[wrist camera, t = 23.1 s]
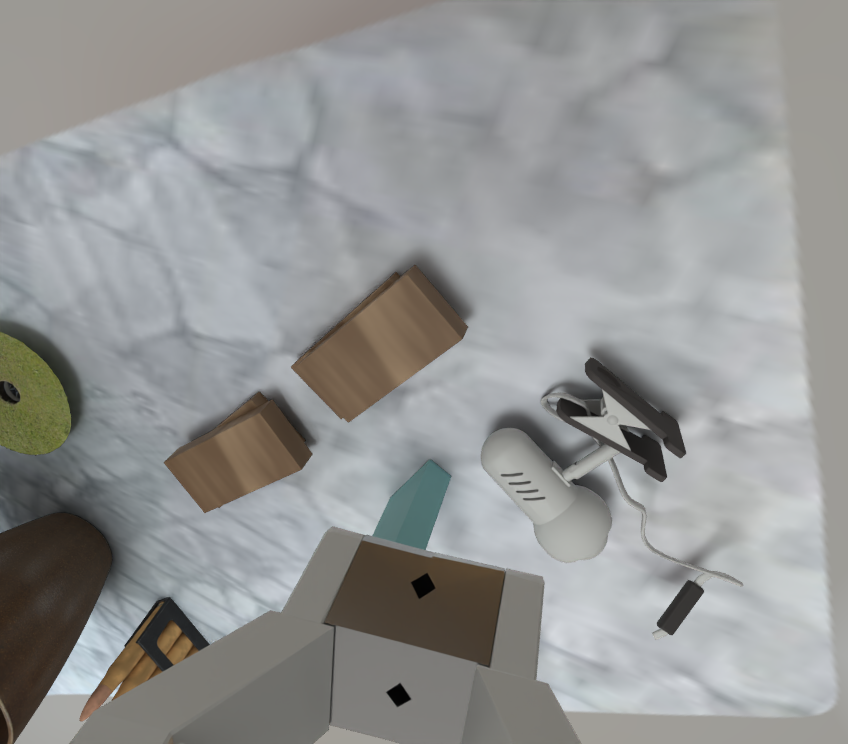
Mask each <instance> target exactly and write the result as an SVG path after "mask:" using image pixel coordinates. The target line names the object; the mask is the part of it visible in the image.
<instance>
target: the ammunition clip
mask: <svg viewBox="0 0 848 744" xmlns="http://www.w3.org/2000/svg"><path fill="white" fill-rule="evenodd" d="M209 645H210V644H209V643H208V642H207V641H206V640H205V638H204V637H203V636H202V635H201V634H200V632H199V631H198V630H197V629H196V628H195V626H194V625H193V624H192V623H191V622H190V620H189V619H188V618H187V617H186V616H185V614H184V613H183V612H182V611H181V609H180V608H179V607H178V606H177V605H176V603H175V602H174V601H173V600H172V599H171V598H166V599H163V600H160V601H157V602H156V603H155V604H154V606H153V607H152V608H151V610H150V611H149V612H148V614H147V615H146V617H145V618H144V619H143V621H142V622H141V624H140V625H139V626H138V628H137V629H136V630H135V632H134V633H133V635H132V636H131V637H130V639H129V640H128V641H127V643H126V644H125V648H124V650H123V651H122V652H121V653H120V655H119V656H118V657H117V659H116V660H115V661H114V662H113V664H112V665H111V666H110V668H109V669H108V671H107V673H106V675H105V677H104V678H103V679H102V681H101V682H100V684H99V685H98V687H97V688H96V689H95V691H94V692H93V693H92V695H91V697H90V698H89V700H88V701H87V703H86V705H85V707H84V709H83V711H82V713H81V716H80V721H84V720H85V719H87V718H88V717H89V716H90V715H91V714H92V713H93V711H95V710H97V709H98V708H99V707H100V706H101V705H102V704H103V703H104V702H105V700H106V699H107V698H108V697H109V695H110V694H111V693H112V692H113V691H114V690H115V689H116V687H117V686H118V685H119V684H120V683H121V682H122V684H121V686H120V688H119V690H118V692H117V693H116V694H115V696H114V697H113V699H112V700H114V699H116V698H118V697H119V696H121V695H123V694H125V693H126V692H128V691H130V690H132V689H133V688H135V687H137V686H139V685H140V684H142V683H144V682H146V681H147V680H149V679H151V678H153V677H154V676H156V675H158V674H160V673H161V672H163V671H165V670H167V669H168V668H170V667H172V666H174V665H175V664H177V663H179V662H181V661H182V660H184V659H186V658H188V657H189V656H191V655H193V654H195V653H197V652H198V651H200V650H202V649H204V648H205V647H207V646H209Z"/></svg>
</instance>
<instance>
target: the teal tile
mask: <svg viewBox="0 0 848 744" xmlns="http://www.w3.org/2000/svg"><path fill="white" fill-rule="evenodd" d="M450 478H451V476H450V475H449V474H448V473H447V472H445V471H444V470H443V469H442V468H440V467H439V466H438V465H437V464H435V463H434V462H433V461H432V460H430V459H429V460H428V461H427V462H426V463H425V464H424V465H423V466H422V467H421V468H420V469H419V470H418V471H417V472H416V473H415V474H414V475H413V476H412V477H411V478H410V479H409V480H408V481H407V482H406V483H405V484H404V485H403V486H402V487H401V488H400V489H399V490H398V491H397V492H396V493H395V494H394V495H393V496H392V497H391V498H390V499H389V502H388V504H387V506H386V508H385V510H384V512H383V514H382V517H381V519H380V521H379V523H378V525H377V527H376V529H375V531H374V534H373V536H374V537H378V538H381V539H385V540H389V541H393V542H396V543H400V544H404V545H408V546H411V547H415V548H419V549H423V550H426V547H427V544H428V541H429V538H430V536H431V533H432V530H433V527H434V524H435V521H436V518H437V516H438V513H439V510H440V507H441V504H442V501H443V498H444V496H445V493H446V490H447V487H448V484H449V481H450Z"/></svg>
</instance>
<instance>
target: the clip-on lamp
mask: <svg viewBox="0 0 848 744" xmlns="http://www.w3.org/2000/svg"><path fill="white" fill-rule="evenodd" d="M585 372H586V375H587V376H588V377H589V378H590V379H591V380H592V381H593V382H594V383H595V384H597V385H598V386H599V387H600V388H601V389H602V391H603V395H604V397H602V398H601V399H594V400H580V399H578V398H576V397H574V396H571V395H569V394H566V393H559V392H558V393H552V394H549V395H547V396H545V397H543V398H542V399H541V405H542V406H543V408H544V409H545V410H546V411H547V412H548V413H550V414H551V415H552V416H554V417H555V418H557V419H559V420H561V421H564V422H566V423H568V424H570V425H572V426H573V427H575V428H577V429H579V430H581V431H583V432H584V433H586V434H588V435H590V436H592V437H593V439H594V440H595V441H596V442H597V443H598V445H599V446H600V448H598V449H596V450H595V451H593V452H592V453H590V454H589V455H587V456H586V457H584V458H582V459H581V460H579V461H578V462H576V463H574V464H572V465H571V466H569V467H568V468H566V469H565V470H563V469H562V468H561V467H560V466H559V465H558V464H557V463H556V462H555V461H552V460H551V459H550V458H549V457H548V456H547V455H546V454H545V453H544V452H543V451H542V450H541V449H540V448H539V447H538V446H537V445H536V444H535V443H534V441H533V440H532V439H531V438H530V437H529V436H528V435H527V434H526V433H525V432H523V431H521V430H519V429H516V428H503V429H500V430H497V431H495V432H494V433H492V434H491V435H490V436H489V437H488V438H487V439H486V441H485V442H484V444H483V447H482V451H481V463H482V466H483V469H484V470H485V471H486V472H487V473H488V474H489V475H490V476H491V477H492V478H493V480H494V481H495V482H496V483H497V484H498V485H499V486H500V487H501V488H502V489H503V490H504V491H505V493H506V494H507V495H508V496H509V497H510V498H511V499H512V500H513V501H514V502H515V503H516V504H517V506H518V507H519V508H520V509H521V510H522V511H523V512H524V513H525V514H526V515H527V516H528V517H529V519H530V520H531V521H532V522H533V524H534V532H535V536H536V538H537V540H538V542H539V544H540V545H541V546H542V548H543V549H544V550H545V551H546V552H547V553H548V554H549V555H550V556H551V557H553V558H554V559H556V560H558V561H561V562H564V563H572V562H576V561H578V560H588V559H591V558H594V557H596V556H597V555H599V554H600V553H601V552H602V550H603V549H604V548H605V545H606V543H607V538H608V533H609V531H610V528H611V525H612V517H611V514H610V511H609V508H608V506H607V504H606V503H605V502H604V500H603V499H602V498H601V497H600V496H599V495H597V494H596V493H595V492H593V491H592V490H590V489H588V488H586V487H584V486H579V485H574V484H573V483H572V482H571V480H572V479H574V478H575V479H579V478H580V477H582V476H584V475H585V474H587V473H588V472H590V471H592V470H593V469H595V468H596V467H598V466H600V465H601V464H603V463H604V462H606V461H609V464H610V466H611V469H612V471H613V474H614V476H615V479H616V482H617V485H618V487H619V490H620V492H621V494H622V496H623V498H624V500H625V501H626V502H627V503H628V504H629V505H630V506H632V507H633V508H635V509H637V510H639V511H641V512H642V523H641V536H642V540H643V542H644V544H645V546H647V547H648V548H649V549H650V550H651V551H652V552H654V553H655V554H657V555H659V556H661V557H663V558H665V559H667V560H670V561H672V562H675V563H677V564H680V565H683V566H685V567H688V568H691V569H694V570H697V571H700V572H703V574H701V575H699V576H698V577H697V578H696V580H695V581H694V582H693V581H690V580H688V581H687V582H686V583H685V585H684V586H683V587H682V589H681V590H680V592H679V593H678V594H677V596H676V597H675V598H674V600H673V601H672V603H671V604H670V605H669V607H668V608H667V609H666V611H665V612H664V614H663V615H662V616H661V618H660V619H659V620H658V622H657V626H658V627H659V628H661V629H659V630H657V631H655V632H653V633H652V634H653V636H654V638H655V640H658V639H660V638H662V637H664V636H666V635H668V634H669V635H673V634H674V633H675V631H676V630H677V629H678V627H679V626H680V624H681V623H682V622H683V620H684V619H685V618H686V616H687V615H688V613H689V612H690V611H691V609H692V608H693V607H694V605H695V604H696V602H697V601H698V600H699V598H700V597H701V596H702V594H703V593H704V590H703V588H701V586H702V585H703V583H704V582H705V581H707V580H709V579H710V578H712V577H717V578H719V579H722V580H725V581H727V582H730V583H733V584H735V585H738V586H740V587H742V586H743V583H742V582H740V581H738V580H737V579H735V578H733V577H731V576H729V575H727V574H725V573H721V572H717V571H709V570H706V569H703V568H700V567H697V566H694V565H691V564H688V563H685V562H683V561H680V560H677V559H675V558H672V557H670V556H667V555H665V554H663V553H661V552H660V551H658V550H656V549H654V548H653V547H652V546H651V545H650V544H649V543H648V541H647V539H646V537H645V524H646V510H645V508H644V506H643V505H642V504H640V503H638V502H636V501H634V500H633V499H631V497H630V496H629V495H628V494H627V492H626V490H625V488H624V485H623V483H622V480H621V477H620V474H619V472H618V469H617V466H616V464H615V462H614V459H613V457H614V456H616V455H617V454H619V453H620V452H621V453H623V454H624V455H626V456H628V457H630V458H632V459H633V460H635V461H637V462H639V463H641V464H643V465H644V470H645V472H646V473H647V474H648V475H650V476H651V477H653V478H655V479H656V480H658V481H660V482H663V481H664V480H665V479H666V478H667V474H666V469H665V464H664V459H663V454H662V450H661V446H660V444H659V443H658V442H656V441H655V440H653V439H651V438H650V437H648V436H646V435H644V436H643V437H642V438H640V437H638V436H636V435H635V434H633V433H631V432H629V431H628V429H627V427H626V425H627V426H632V427H638V428H643V429H648V430H652V431H653V432H654V433H655V434H657V435H658V436H659V437H660V438H661V439H663V442H664V445H665V447H666V448H667V449H668V450H669V451H671V452H672V453H673V454H675V455H676V456H677V457H679V458H682V457H683V456H684V455H685V454H686V450H685V447H684V443H683V439H682V436H681V432H680V428H679V425H678V423H677V421H676V420H675V419H673V418H672V417H671V416H669V415H668V414H667V413H665V412H664V411H662V412H661V413H659V412H658V411H657V410H656V409H655V408H653V407H652V406H651V405H650V404H649V403H647V402H646V401H645V400H644V399H643V398H641V397H640V396H639V395H638V394H637V393H636V392H634V391H633V390H632V389H631V388H630V387H628V386H627V385H626V384H625V383H624V382H622V381H621V380H620V379H619V378H618V377H616V376H615V375H614V374H613V373H612V372H610V371H609V370H608V369H607V368H606V367H604V366H603V365H602V364H601V363H600V362H599V361H597V360H596V359H594V358H591V357H590V359H589V360H588V361H587V362H586V363H585ZM551 397H559V398H560V400H559V401H558V402H557V411H555V410H554V409H553V408H552V407H551V406H550V405H549V404H548V402H547V399H548V398H551Z"/></svg>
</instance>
